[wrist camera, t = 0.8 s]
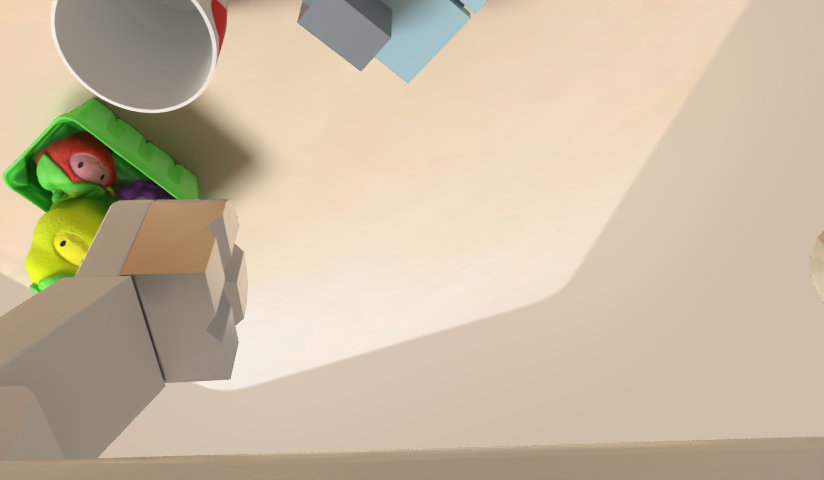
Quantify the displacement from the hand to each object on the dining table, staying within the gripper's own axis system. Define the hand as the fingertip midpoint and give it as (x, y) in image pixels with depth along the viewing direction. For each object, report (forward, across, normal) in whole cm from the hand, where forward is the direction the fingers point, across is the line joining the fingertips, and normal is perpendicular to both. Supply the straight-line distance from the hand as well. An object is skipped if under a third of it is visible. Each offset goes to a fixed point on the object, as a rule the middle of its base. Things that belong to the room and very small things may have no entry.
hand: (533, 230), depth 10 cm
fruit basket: (+39, +22, +22) cm, 50 cm away
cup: (+38, +15, +9) cm, 42 cm away
